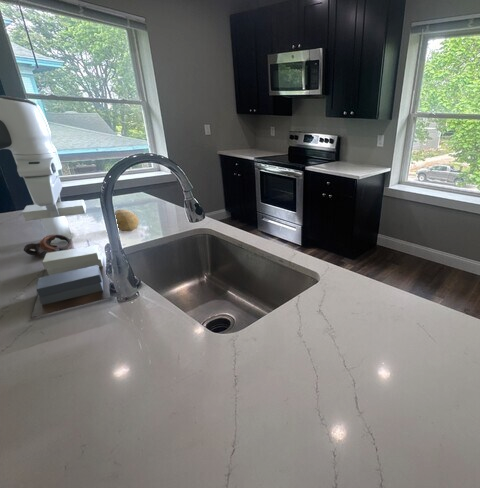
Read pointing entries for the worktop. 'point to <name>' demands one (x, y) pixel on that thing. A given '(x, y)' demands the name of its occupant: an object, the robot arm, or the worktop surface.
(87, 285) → the grey stack
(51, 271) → the white stack
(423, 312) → the worktop surface
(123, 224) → the potato
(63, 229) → the cylindrical container
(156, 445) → the worktop surface
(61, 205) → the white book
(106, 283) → the shallow tray
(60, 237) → the pottery mug
